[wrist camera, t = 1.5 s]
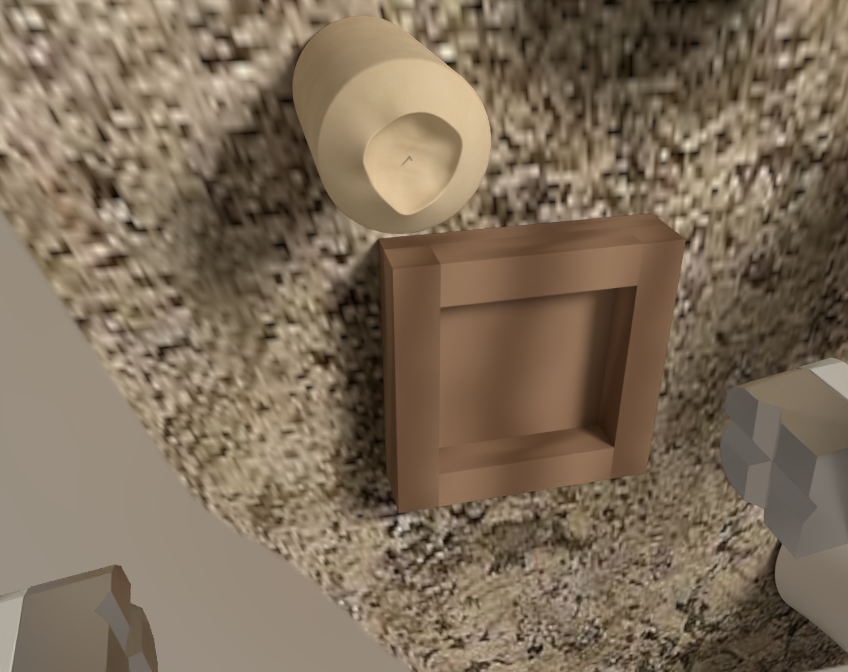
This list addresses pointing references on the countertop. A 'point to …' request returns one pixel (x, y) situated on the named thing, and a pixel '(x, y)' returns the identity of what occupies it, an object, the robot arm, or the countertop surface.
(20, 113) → the countertop surface
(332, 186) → the candle
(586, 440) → the brown shallow square tray
